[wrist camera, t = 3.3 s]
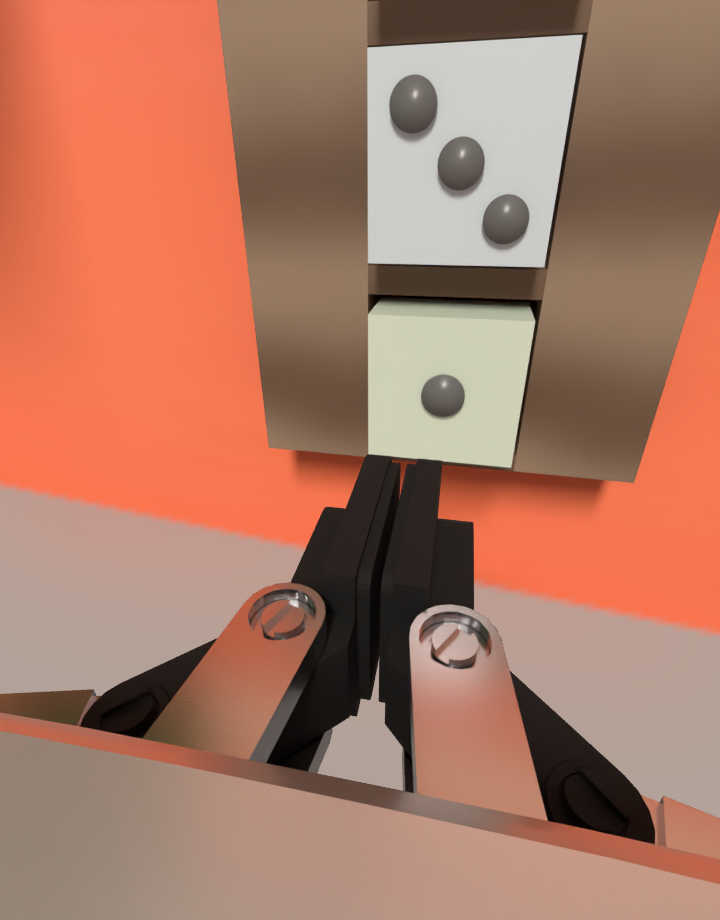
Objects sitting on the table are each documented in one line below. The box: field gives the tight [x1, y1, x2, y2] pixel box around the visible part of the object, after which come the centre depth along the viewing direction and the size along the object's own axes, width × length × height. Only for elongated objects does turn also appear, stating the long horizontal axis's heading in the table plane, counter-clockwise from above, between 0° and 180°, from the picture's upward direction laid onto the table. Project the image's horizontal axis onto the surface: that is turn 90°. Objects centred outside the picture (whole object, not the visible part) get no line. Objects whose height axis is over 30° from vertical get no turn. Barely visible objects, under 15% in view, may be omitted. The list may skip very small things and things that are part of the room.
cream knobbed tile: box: [368, 297, 535, 468], centre depth 17 cm, size 5×5×3 cm
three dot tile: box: [367, 35, 583, 267], centre depth 14 cm, size 5×5×3 cm
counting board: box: [217, 0, 720, 483], centre depth 16 cm, size 20×14×3 cm
